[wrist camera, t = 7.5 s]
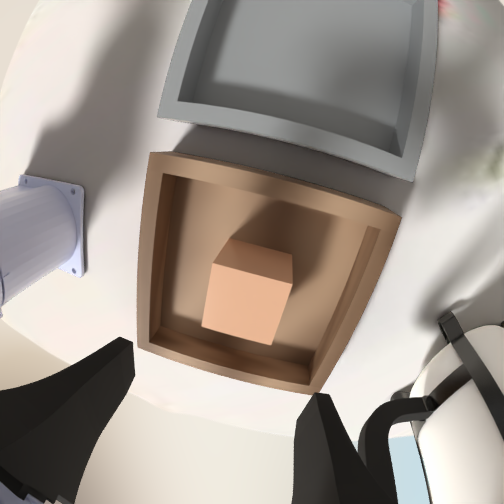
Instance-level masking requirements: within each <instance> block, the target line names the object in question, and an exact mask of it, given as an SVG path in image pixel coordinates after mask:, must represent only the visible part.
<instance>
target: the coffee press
mask: <svg viewBox="0 0 504 504" xmlns="http://www.w3.org/2000/svg"><path fill="white" fill-rule="evenodd" d="M438 324H439V326H440V329H441V331H442V333H443V335H444V337H445V340H446V342H447V346H446V347H444V348H443V349H442V350H441V351H440V352H439V353H438V354H437V355H436V356H435V357H434V358H433V359H432V360H431V361H430V362H429V363H428V364H427V365H426V367H425V368H424V369H423V371H422V372H421V374H420V375H419V377H418V378H417V380H416V382H415V383H414V385H413V388H412V390H411V393H408V392H402V391H399V392H396V393H394V394H393V395H392V397H391V400H390V401H389V402H386V403H384V404H382V405H380V406H379V407H378V408H377V409H376V410H375V411H374V412H373V413H372V415H371V416H370V417H369V418H368V420H367V421H366V422H365V424H364V426H363V427H362V430H361V432H360V436H359V440H358V454H359V456H360V458H361V459H362V461H363V463H364V464H365V466H366V467H367V469H368V470H369V472H370V473H371V475H372V476H373V477H374V479H375V480H376V481H377V483H378V484H379V485H380V486H381V488H382V489H383V490H384V491H385V492H386V493H387V494H388V495H389V496H390V498H391V499H392V500H393V501H394V502H395V503H396V504H398V499H397V492H396V485H395V479H394V473H393V467H392V462H391V456H390V451H389V444H388V434H389V430H390V428H391V426H392V425H394V424H396V423H401V422H408V421H410V423H411V427H412V430H413V433H414V437H415V440H416V444H417V448H418V452H419V455H420V459H421V463H422V468H423V472H424V476H425V481H426V485H427V490H428V495H429V500H430V504H504V321H503V322H502V323H501V326H496V325H487V326H481V327H478V328H475V329H473V330H470V331H468V332H466V333H463V331H462V329H461V327H460V325H459V323H458V321H457V319H456V318H455V316H454V314H453V313H452V312H451V311H450V312H449V313H447V314H446V315H444V316H443V317H441V318H440V319H438ZM412 421H413V422H412ZM417 438H418V439H417ZM418 441H419V442H418ZM419 444H420V446H419ZM420 448H421V449H420ZM421 452H422V453H421ZM422 455H423V457H422ZM423 459H424V461H423ZM424 463H425V465H424ZM425 467H426V469H425ZM426 471H427V473H426ZM427 476H428V477H427ZM428 480H429V482H428ZM429 485H430V486H429ZM430 489H431V491H430ZM431 494H432V496H431ZM432 499H433V501H432Z"/></svg>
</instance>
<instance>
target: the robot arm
mask: <svg viewBox="0 0 504 504" xmlns="http://www.w3.org/2000/svg"><path fill="white" fill-rule="evenodd" d="M74 190H75V193H74ZM83 208H84V189H83V187H82V186H80V185H75V184H70V183H66V182H61V181H56V180H51V179H45V178H40V177H35V176H30V175H24V174H23V175H20V176H19V184H18V186H15V187H11V188H8V189H5V190H1V191H0V318H1V317H3V314H2V310H1V306H3V305H4V304H5V303H7V302H8V301H10V300H11V299H12V298H14V297H15V296H16V295H18V294H19V293H21V292H22V291H24V290H25V289H26V288H28V287H29V286H31V285H32V284H34V283H35V282H37V281H38V280H40V279H41V278H43V277H44V276H46V275H47V274H49V273H50V272H52V271H54V270H55V269H57V268H58V269H61V270H63V271H65V272H67V273H70V274H72V275H74V276H77V277H79V278H81V277H82V276H83V275H84V257H83ZM75 270H76V271H75ZM134 377H135V367H134V353H133V342H131V341H129V340H126V339H124V338H122V337H118V338H117V339H115V340H113V341H112V342H110V343H108V344H107V345H105V346H104V347H102V348H100V349H99V350H97V351H96V352H94V353H92V354H91V355H89V356H87V357H86V358H84V359H82V360H80V361H79V362H77V363H75V364H73V365H71V366H70V367H67V368H66V369H64V370H62V371H60V372H58V373H56V374H53V375H51V376H49V377H46V378H44V379H41V380H39V381H36V382H33V383H30V384H27V385H23V386H20V387H16V388H12V389H7V390H1V391H0V504H44V503H45V501H46V500H48V501H49V502H51V503H52V504H54V503H55V501H56V500H58V501H59V502H61V503H62V504H74V503H75V499H76V495H77V492H78V488H79V485H80V482H81V479H82V476H83V473H84V470H85V468H86V465H87V463H88V460H89V458H90V456H91V453H92V451H93V449H94V447H95V444H96V442H97V440H98V438H99V436H100V435H101V433H102V431H103V430H104V428H105V427H106V425H107V423H108V422H109V420H110V419H111V417H112V416H113V414H114V413H115V411H116V410H117V408H118V406H119V405H120V403H121V402H122V400H123V399H124V397H125V395H126V394H127V392H128V390H129V388H130V385H131V383H132V381H133V379H134ZM292 504H396V503H395V502H394V501H393V500H392V499H391V498H390V496H389V495H388V494H387V493H386V492H385V491H384V490H383V489H382V488H381V486H380V485H379V484H378V483H377V481H376V480H375V479H374V477H373V476H372V475H371V473H370V472H369V470H368V469H367V467H366V466H365V464H364V463H363V461H362V459H361V458H360V456H359V454H358V453H357V451H356V449H355V447H354V445H353V444H352V442H351V440H350V438H349V436H348V434H347V432H346V430H345V428H344V426H343V423H342V421H341V419H340V417H339V415H338V412H337V410H336V408H335V406H334V403H333V401H332V399H331V397H330V395H329V394H323V393H317V392H314V394H313V396H312V397H311V399H310V400H309V402H308V404H307V405H306V407H305V408H304V410H303V411H302V413H301V414H300V416H299V417H298V419H297V422H296V430H295V437H294V484H293V497H292Z"/></svg>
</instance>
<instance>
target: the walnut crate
mask: <svg viewBox="0 0 504 504" xmlns="http://www.w3.org/2000/svg"><path fill="white" fill-rule="evenodd" d="M401 219H402V217H400V216H399V215H397V214H396V213H394V212H393V211H391V210H389V209H388V208H386V207H385V206H382V205H379V204H376V203H373V202H371V201H368V200H365V199H362V198H359V197H356V196H353V195H349V194H346V193H343V192H340V191H337V190H333V189H330V188H327V187H324V186H320V185H317V184H313V183H310V182H306V181H303V180H299V179H295V178H292V177H288V176H284V175H280V174H277V173H273V172H269V171H265V170H260V169H256V168H252V167H248V166H243V165H239V164H234V163H230V162H225V161H220V160H216V159H211V158H205V157H200V156H195V155H189V154H184V153H178V152H172V151H169V152H150V155H149V161H148V168H147V174H146V181H145V189H144V197H143V205H142V214H141V225H140V237H139V251H138V270H137V346H138V348H141V349H143V350H146V351H148V352H151V353H154V354H156V355H159V356H162V357H165V358H167V359H170V360H173V361H176V362H179V363H182V364H185V365H188V366H191V367H194V368H198V369H201V370H204V371H207V372H211V373H214V374H218V375H221V376H225V377H229V378H232V379H236V380H240V381H244V382H248V383H252V384H257V385H261V386H266V387H270V388H275V389H280V390H285V391H290V392H295V393H301V394H307V395H313V394H314V392H317V393H319V392H320V390H321V388H322V387H323V385H324V384H325V382H326V380H327V379H328V377H329V375H330V374H331V372H332V370H333V368H334V367H335V365H336V363H337V361H338V360H339V358H340V356H341V354H342V352H343V351H344V349H345V347H346V345H347V343H348V341H349V340H350V338H351V336H352V334H353V332H354V330H355V328H356V326H357V324H358V322H359V320H360V318H361V316H362V314H363V312H364V310H365V308H366V305H367V303H368V301H369V299H370V297H371V295H372V292H373V290H374V288H375V286H376V283H377V281H378V279H379V276H380V274H381V272H382V269H383V267H384V264H385V262H386V259H387V257H388V254H389V252H390V249H391V247H392V244H393V241H394V239H395V236H396V233H397V230H398V227H399V225H400V222H401ZM229 238H231V239H235V240H239V241H242V242H246V243H250V244H254V245H258V246H261V247H265V248H269V249H273V250H276V251H280V252H284V253H288V254H291V255H292V276H293V285H292V288H291V291H290V293H289V296H288V299H287V302H286V305H285V308H284V311H283V314H282V316H281V319H280V322H279V325H278V328H277V330H276V333H275V336H274V339H273V341H272V344H271V345H267V344H263V343H259V342H255V341H251V340H247V339H244V338H240V337H236V336H232V335H229V334H225V333H222V332H218V331H215V330H211V329H208V328H205V327H201V326H202V320H203V314H204V308H205V302H206V296H207V291H208V285H209V279H210V274H211V268H212V263H213V261H214V260H215V259H216V257H217V256H218V254H219V253H220V251H221V250H222V248H223V247H224V245H225V244H226V242H227V241H228V239H229Z"/></svg>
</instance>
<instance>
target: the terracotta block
mask: <svg viewBox="0 0 504 504" xmlns="http://www.w3.org/2000/svg"><path fill="white" fill-rule="evenodd" d="M292 285H293V276H292V255H291V254H288V253H284V252H280V251H276V250H273V249H269V248H265V247H261V246H258V245H254V244H250V243H246V242H242V241H239V240H235V239H231V238H229V239H228V241H227V242H226V244H225V245H224V247H223V248H222V250H221V251H220V253H219V254H218V256H217V257H216V259H215V260H214V261H213V263H212V268H211V274H210V279H209V285H208V291H207V296H206V302H205V308H204V314H203V320H202V326H201V327H205V328H208V329H211V330H215V331H218V332H222V333H225V334H229V335H232V336H236V337H240V338H244V339H247V340H251V341H255V342H259V343H263V344H267V345H271V344H272V341H273V339H274V336H275V333H276V330H277V328H278V325H279V322H280V319H281V316H282V314H283V311H284V308H285V305H286V302H287V299H288V296H289V293H290V291H291V288H292Z"/></svg>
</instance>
